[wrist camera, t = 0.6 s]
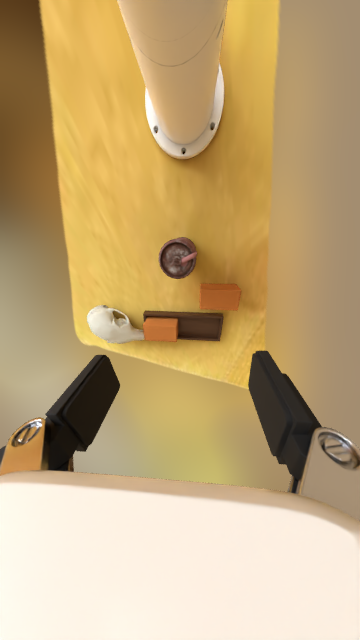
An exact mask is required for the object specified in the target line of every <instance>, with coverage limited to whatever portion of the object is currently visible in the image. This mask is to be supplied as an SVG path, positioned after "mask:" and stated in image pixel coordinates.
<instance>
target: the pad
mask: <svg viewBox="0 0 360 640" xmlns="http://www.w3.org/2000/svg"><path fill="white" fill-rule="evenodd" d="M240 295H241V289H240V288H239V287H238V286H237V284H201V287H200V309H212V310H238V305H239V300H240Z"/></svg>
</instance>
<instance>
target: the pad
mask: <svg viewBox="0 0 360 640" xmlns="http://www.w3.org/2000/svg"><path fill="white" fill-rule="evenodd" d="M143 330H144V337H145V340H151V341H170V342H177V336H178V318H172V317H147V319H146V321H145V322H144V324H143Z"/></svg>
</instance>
